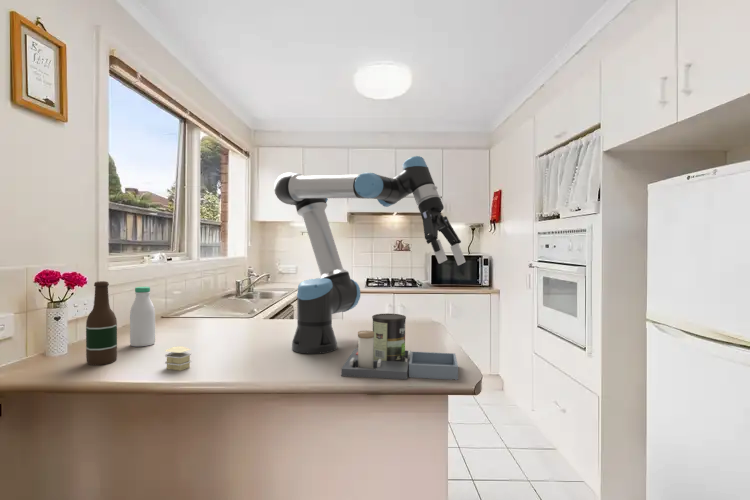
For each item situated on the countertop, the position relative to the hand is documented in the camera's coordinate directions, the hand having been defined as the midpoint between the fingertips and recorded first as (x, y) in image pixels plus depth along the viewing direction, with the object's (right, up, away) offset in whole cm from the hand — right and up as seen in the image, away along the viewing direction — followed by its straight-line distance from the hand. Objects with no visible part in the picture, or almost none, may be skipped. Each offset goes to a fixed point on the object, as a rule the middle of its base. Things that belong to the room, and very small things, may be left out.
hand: (452, 262), depth 129 cm
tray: (-7, -31, -7) cm, 32 cm away
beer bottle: (-105, -30, -2) cm, 109 cm away
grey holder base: (-23, -31, -2) cm, 38 cm away
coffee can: (-20, -31, +2) cm, 36 cm away
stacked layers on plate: (-80, -31, -6) cm, 86 cm away
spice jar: (-26, -31, -8) cm, 41 cm away
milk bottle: (-104, -29, +19) cm, 110 cm away
